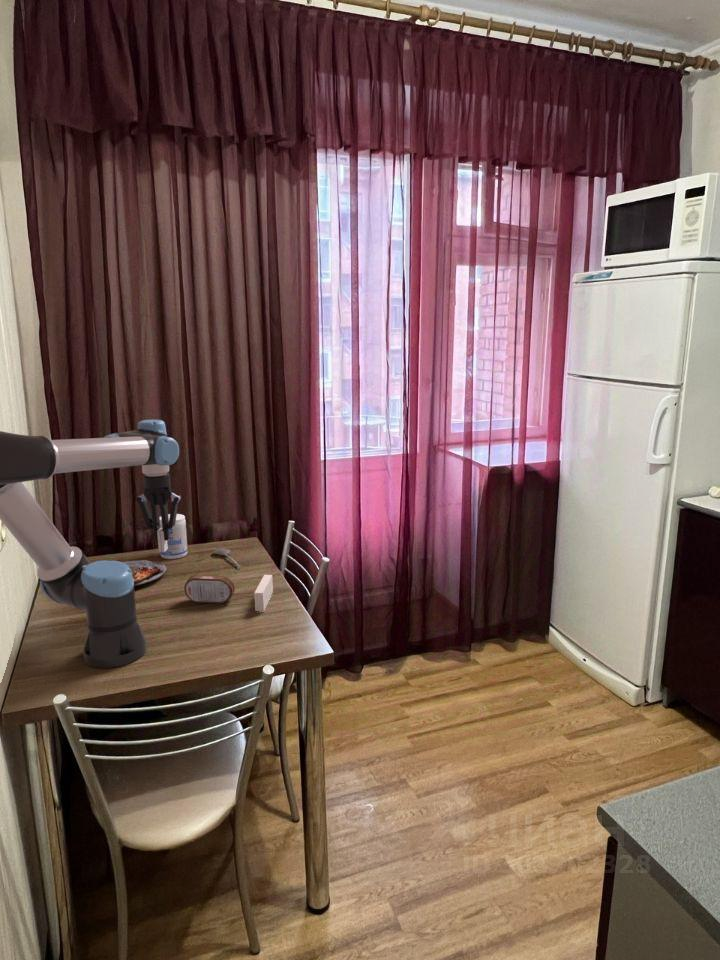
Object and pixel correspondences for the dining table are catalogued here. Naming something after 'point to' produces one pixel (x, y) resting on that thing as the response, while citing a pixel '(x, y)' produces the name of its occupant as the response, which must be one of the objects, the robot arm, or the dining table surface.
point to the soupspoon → (225, 552)
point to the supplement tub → (176, 539)
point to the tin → (209, 588)
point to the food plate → (146, 571)
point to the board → (263, 593)
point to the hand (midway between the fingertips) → (163, 550)
